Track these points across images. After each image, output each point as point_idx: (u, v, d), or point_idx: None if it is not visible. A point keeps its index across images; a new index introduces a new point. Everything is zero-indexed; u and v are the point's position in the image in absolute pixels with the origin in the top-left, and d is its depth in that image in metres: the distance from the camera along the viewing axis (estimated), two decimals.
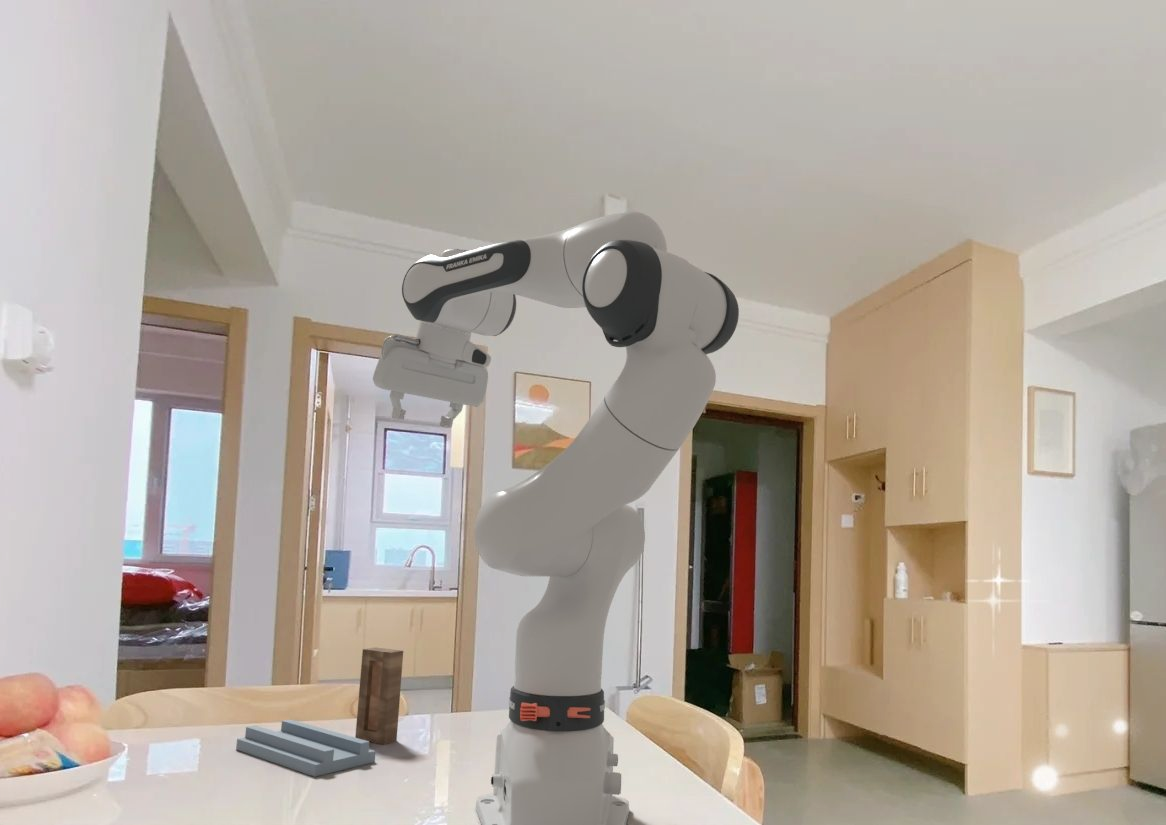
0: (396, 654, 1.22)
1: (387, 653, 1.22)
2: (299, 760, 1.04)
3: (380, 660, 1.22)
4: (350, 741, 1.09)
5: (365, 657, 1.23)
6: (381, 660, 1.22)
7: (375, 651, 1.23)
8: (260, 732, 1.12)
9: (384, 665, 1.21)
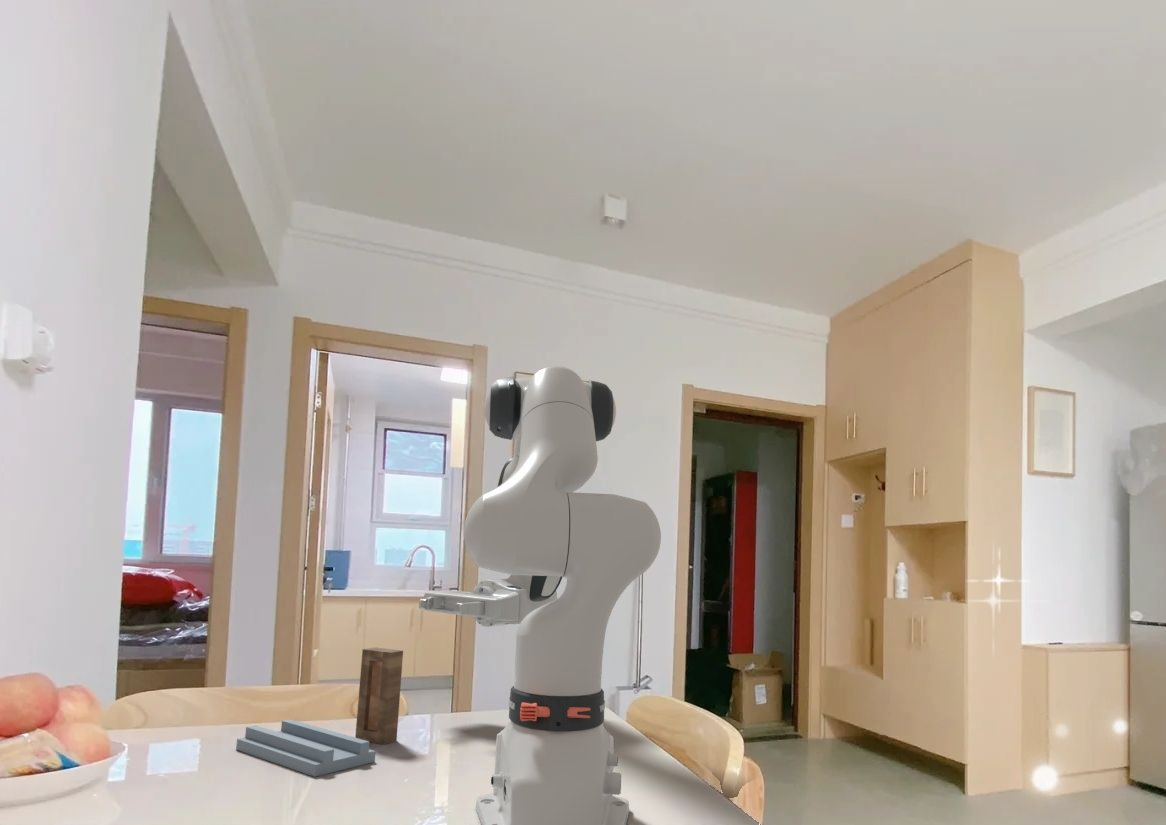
0: (396, 654, 1.22)
1: (387, 653, 1.22)
2: (299, 760, 1.04)
3: (380, 660, 1.22)
4: (350, 741, 1.09)
5: (365, 657, 1.23)
6: (381, 660, 1.22)
7: (375, 651, 1.23)
8: (260, 732, 1.12)
9: (384, 665, 1.21)
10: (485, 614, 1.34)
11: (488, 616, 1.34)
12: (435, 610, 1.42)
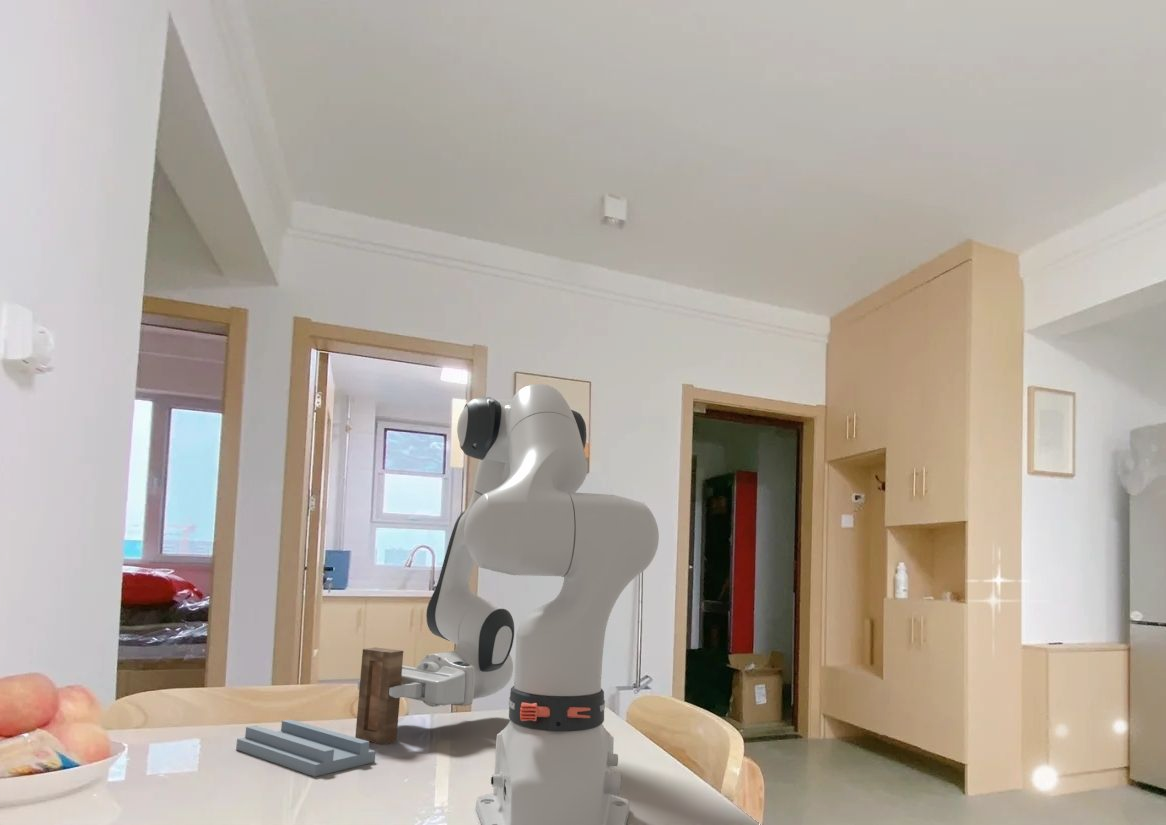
0: (396, 654, 1.22)
1: (387, 653, 1.22)
2: (299, 760, 1.04)
3: (380, 660, 1.22)
4: (350, 741, 1.09)
5: (365, 657, 1.23)
6: (381, 660, 1.22)
7: (375, 651, 1.23)
8: (260, 732, 1.12)
9: (384, 665, 1.21)
10: (425, 698, 1.21)
11: (429, 700, 1.21)
12: None
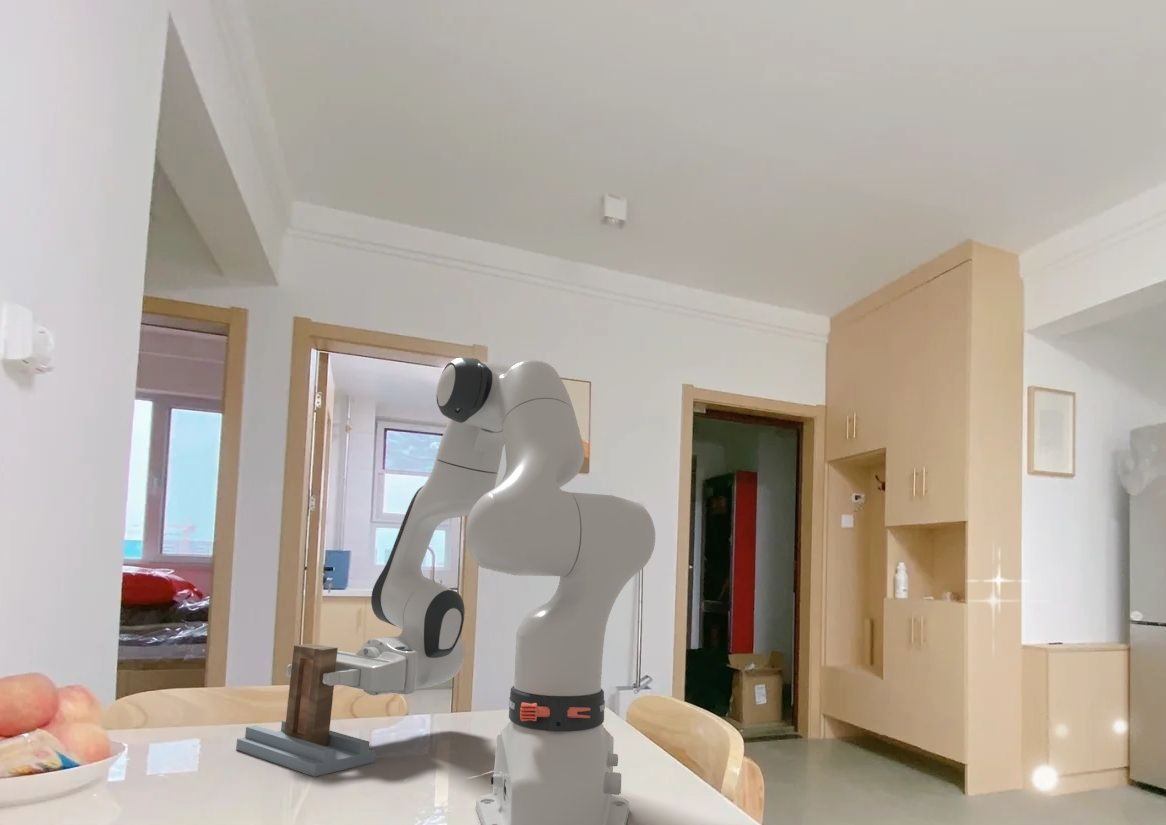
0: (329, 652, 1.12)
1: (318, 650, 1.11)
2: (299, 760, 1.04)
3: (311, 658, 1.12)
4: (350, 741, 1.09)
5: (296, 655, 1.13)
6: (312, 658, 1.12)
7: (306, 648, 1.13)
8: (260, 732, 1.12)
9: (315, 663, 1.11)
10: (360, 685, 1.12)
11: (363, 687, 1.11)
12: None
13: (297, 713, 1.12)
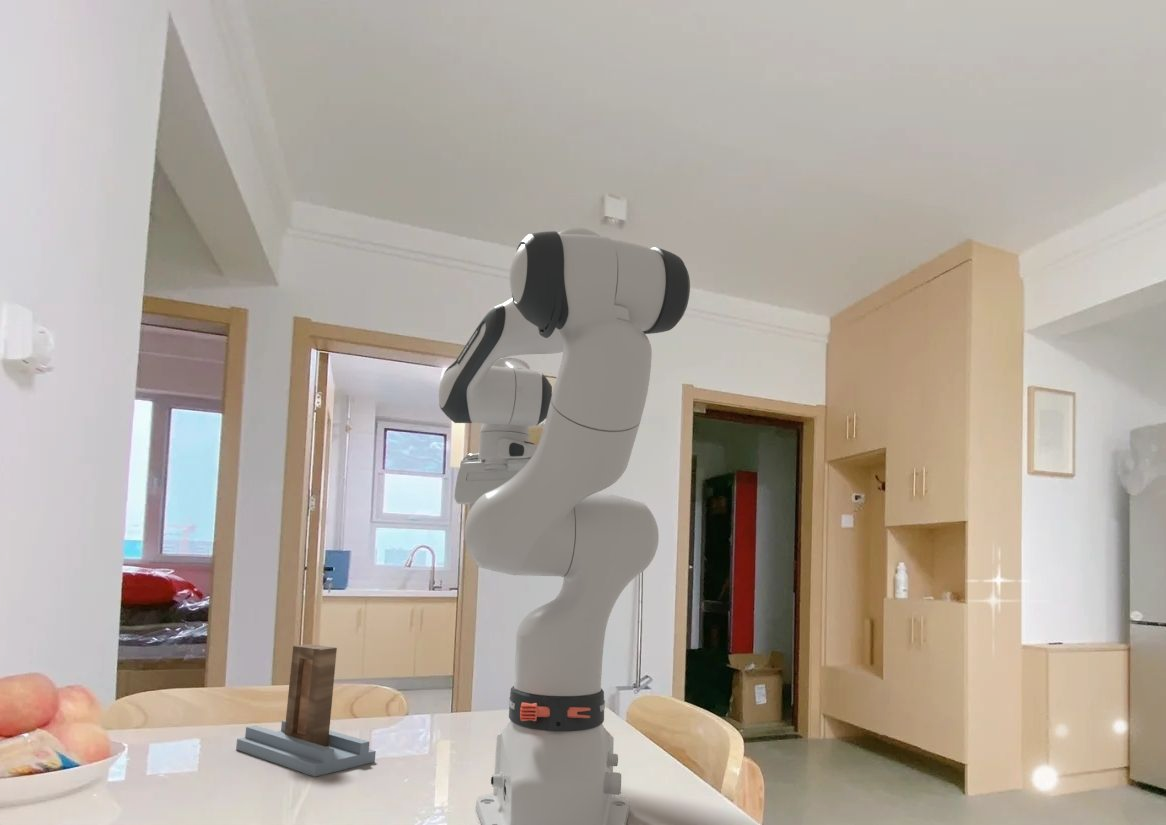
0: (328, 652, 1.12)
1: (317, 650, 1.11)
2: (299, 760, 1.04)
3: (310, 658, 1.12)
4: (350, 741, 1.09)
5: (296, 655, 1.13)
6: (311, 658, 1.12)
7: (305, 648, 1.13)
8: (260, 732, 1.12)
9: (314, 663, 1.11)
10: None
11: None
12: None
13: (297, 713, 1.12)
